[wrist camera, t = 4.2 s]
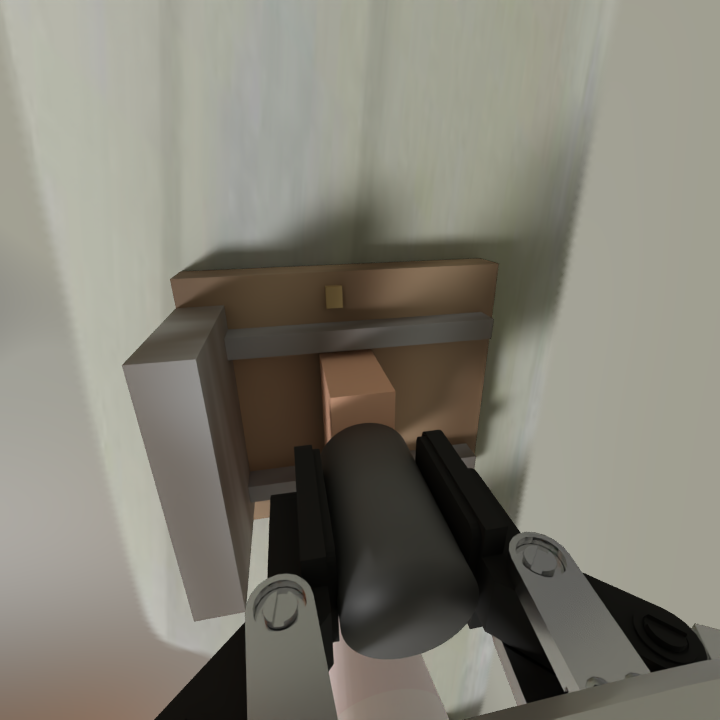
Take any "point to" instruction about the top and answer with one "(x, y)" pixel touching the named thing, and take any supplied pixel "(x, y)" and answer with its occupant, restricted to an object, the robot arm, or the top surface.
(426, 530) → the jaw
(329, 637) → the robot arm
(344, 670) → the smoothie
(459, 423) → the vise base
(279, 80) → the top surface
